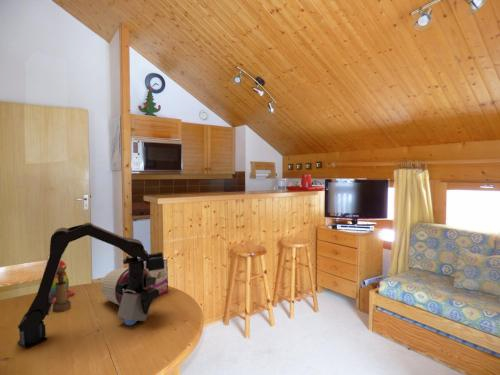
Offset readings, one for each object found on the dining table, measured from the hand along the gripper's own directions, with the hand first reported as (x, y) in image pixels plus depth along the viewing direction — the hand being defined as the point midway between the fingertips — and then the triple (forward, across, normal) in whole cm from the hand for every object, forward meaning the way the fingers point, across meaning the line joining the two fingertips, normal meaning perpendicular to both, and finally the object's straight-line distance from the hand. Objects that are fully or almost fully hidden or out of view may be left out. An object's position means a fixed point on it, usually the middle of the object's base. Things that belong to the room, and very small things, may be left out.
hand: (137, 311), depth 120 cm
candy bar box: (+4, +12, -21) cm, 25 cm away
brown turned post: (+4, +36, +9) cm, 37 cm away
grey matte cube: (+2, 0, +3) cm, 3 cm away
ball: (+1, 0, +4) cm, 4 cm away
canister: (-3, +26, -9) cm, 28 cm away
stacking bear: (+4, +48, +4) cm, 48 cm away
